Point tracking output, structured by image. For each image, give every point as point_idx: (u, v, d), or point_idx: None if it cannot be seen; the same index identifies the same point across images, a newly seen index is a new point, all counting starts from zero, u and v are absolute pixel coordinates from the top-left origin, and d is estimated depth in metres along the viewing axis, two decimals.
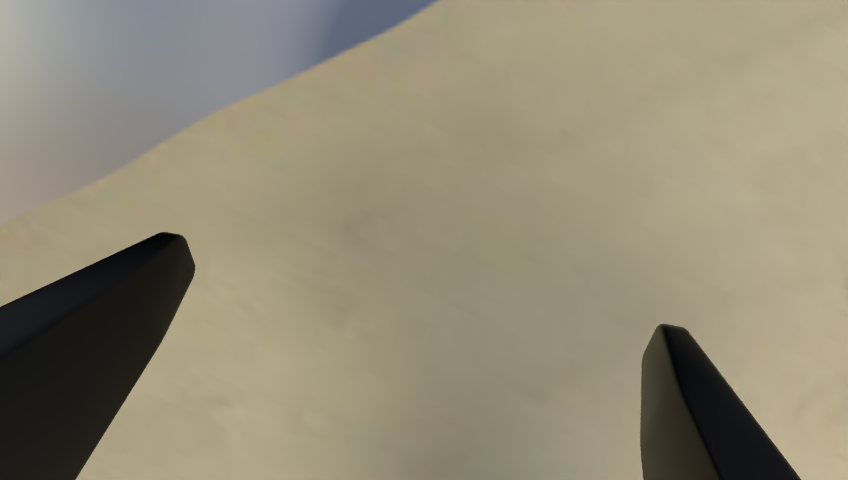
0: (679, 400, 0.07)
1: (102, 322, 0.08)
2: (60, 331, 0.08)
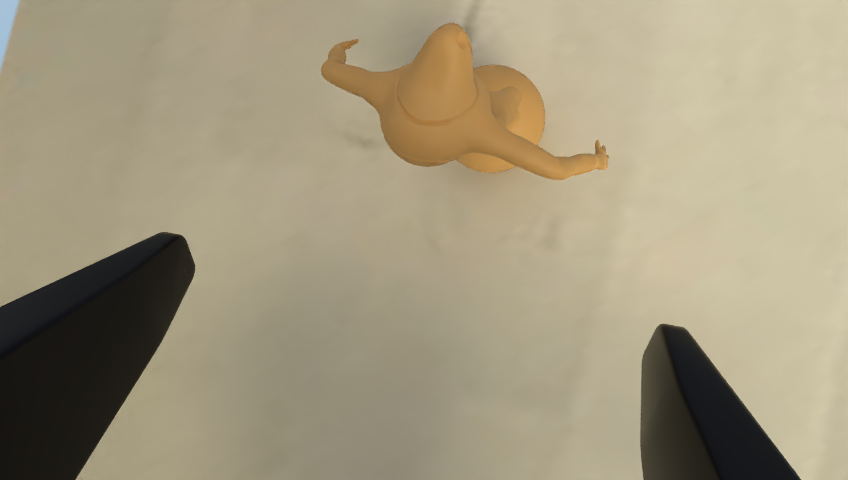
0: (679, 400, 0.07)
1: (102, 322, 0.08)
2: (60, 331, 0.08)
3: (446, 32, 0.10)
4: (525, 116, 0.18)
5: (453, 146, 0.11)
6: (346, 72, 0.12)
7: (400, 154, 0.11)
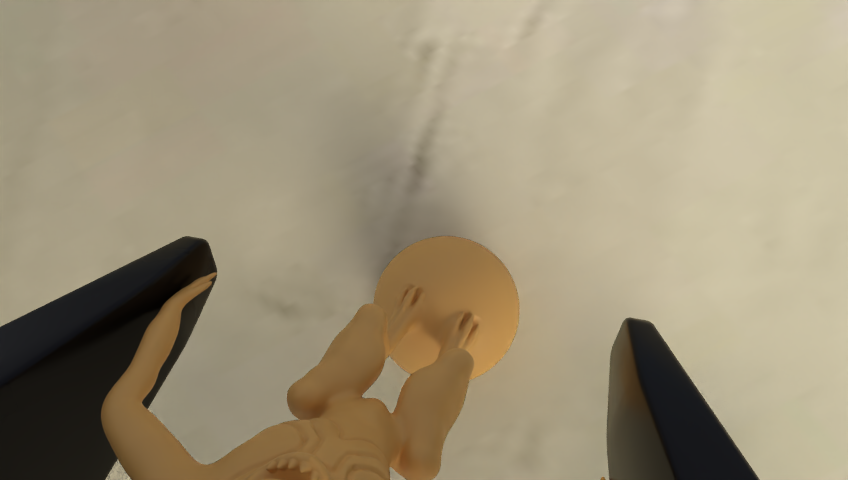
0: (639, 392, 0.07)
1: (129, 328, 0.08)
2: (89, 338, 0.08)
3: None
4: (489, 328, 0.13)
5: None
6: (126, 450, 0.06)
7: None
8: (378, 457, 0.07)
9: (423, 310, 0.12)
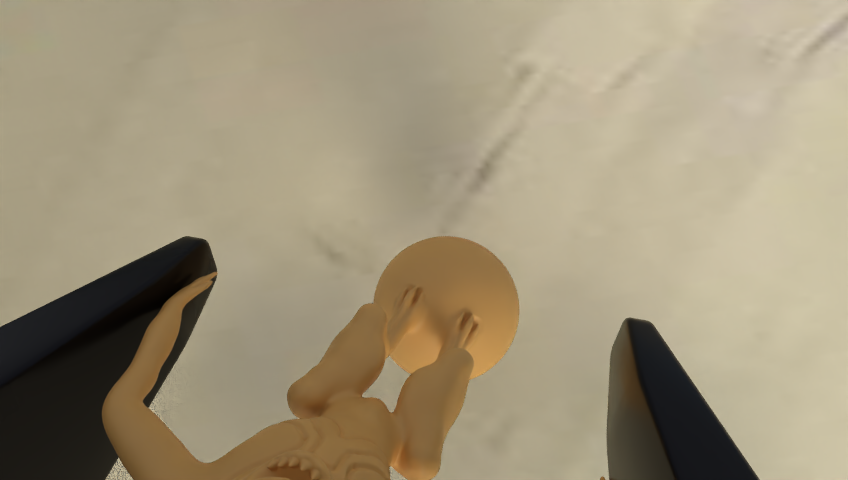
0: (639, 392, 0.07)
1: (129, 328, 0.08)
2: (89, 338, 0.08)
3: None
4: (489, 328, 0.13)
5: None
6: (127, 449, 0.06)
7: None
8: (378, 456, 0.07)
9: (423, 310, 0.12)
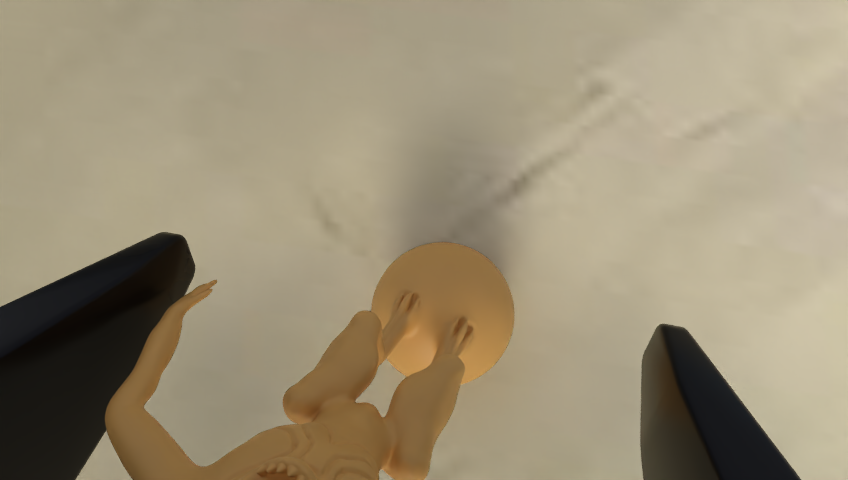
0: (679, 400, 0.07)
1: (102, 322, 0.08)
2: (60, 331, 0.08)
3: None
4: (484, 334, 0.13)
5: None
6: (128, 453, 0.07)
7: None
8: (366, 460, 0.07)
9: (419, 315, 0.13)
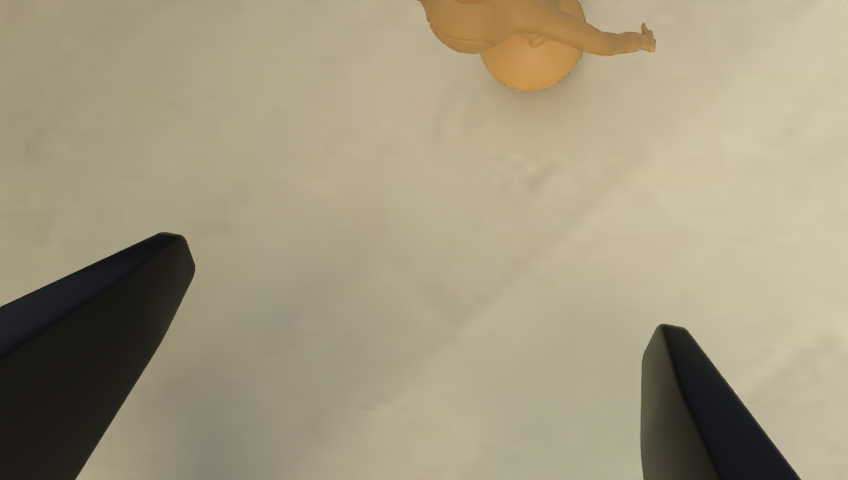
0: (679, 400, 0.07)
1: (102, 322, 0.08)
2: (60, 331, 0.08)
3: None
4: None
5: (498, 24, 0.11)
6: None
7: (447, 39, 0.11)
8: None
9: None
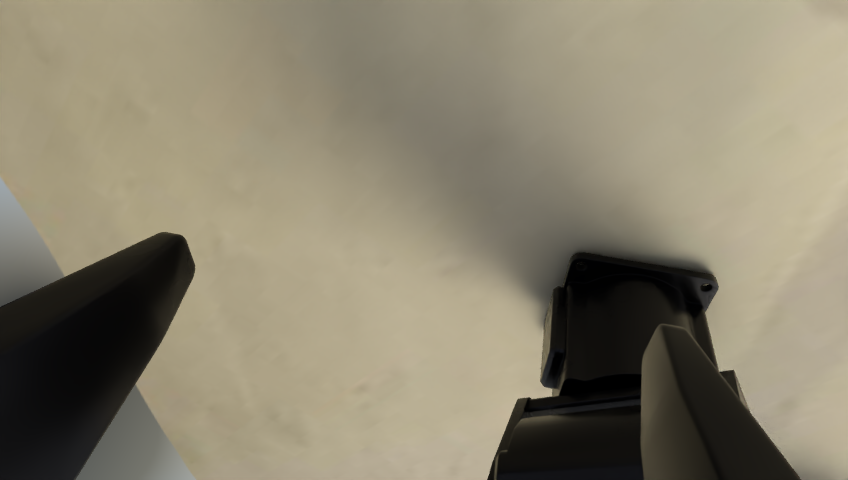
0: (679, 400, 0.07)
1: (102, 322, 0.08)
2: (60, 331, 0.08)
3: None
4: None
5: None
6: None
7: None
8: None
9: None
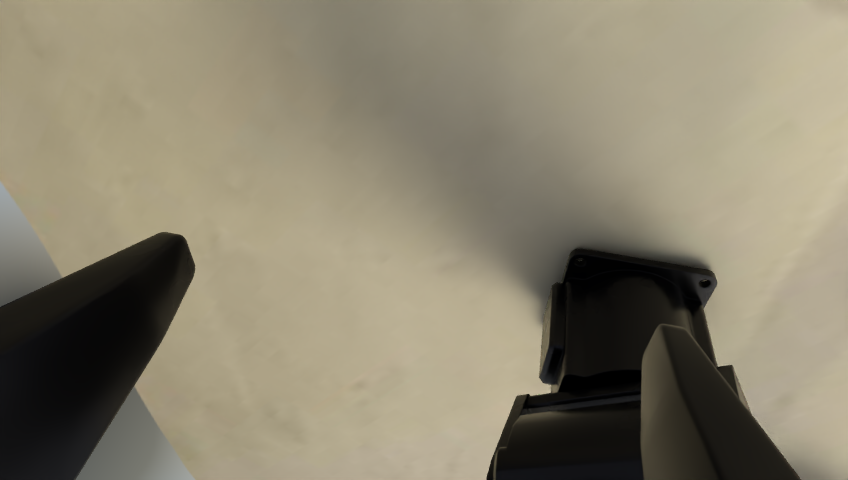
0: (679, 400, 0.07)
1: (102, 322, 0.08)
2: (60, 331, 0.08)
3: None
4: None
5: None
6: None
7: None
8: None
9: None
